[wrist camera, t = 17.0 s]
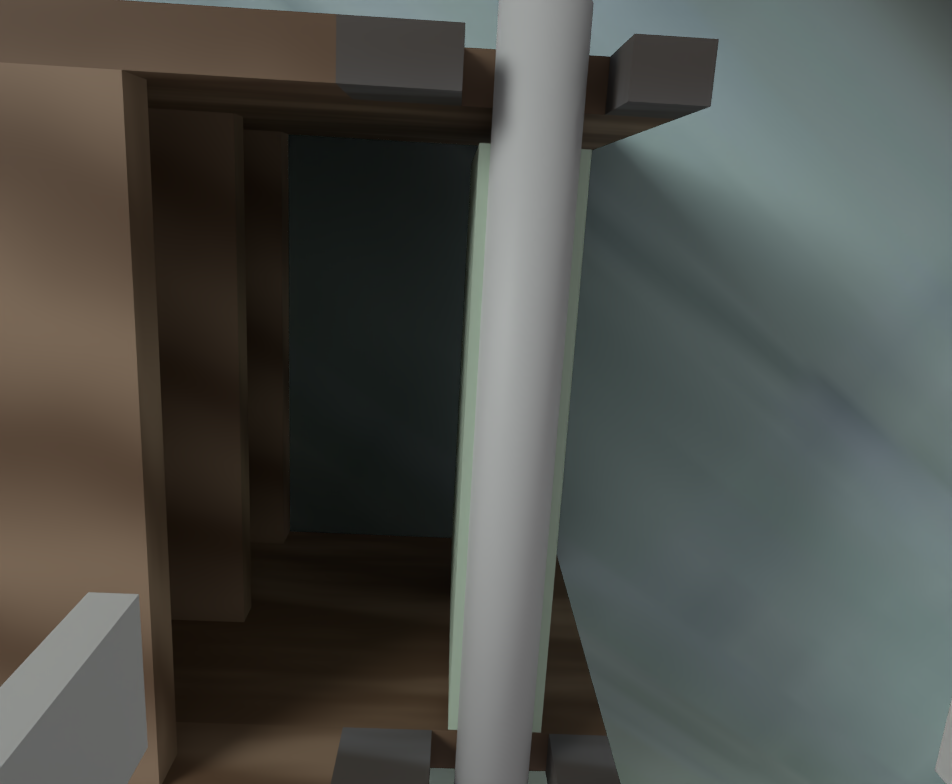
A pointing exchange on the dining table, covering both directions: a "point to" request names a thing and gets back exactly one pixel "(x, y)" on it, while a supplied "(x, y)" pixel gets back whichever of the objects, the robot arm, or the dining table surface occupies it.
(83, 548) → the cabinet
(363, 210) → the dining table surface
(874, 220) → the dining table surface
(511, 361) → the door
